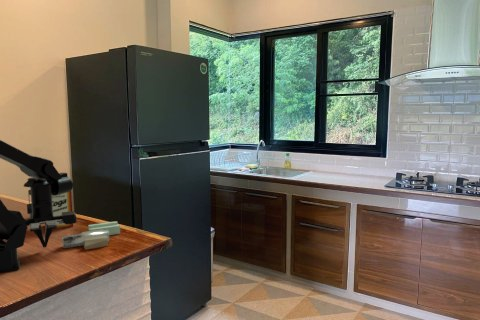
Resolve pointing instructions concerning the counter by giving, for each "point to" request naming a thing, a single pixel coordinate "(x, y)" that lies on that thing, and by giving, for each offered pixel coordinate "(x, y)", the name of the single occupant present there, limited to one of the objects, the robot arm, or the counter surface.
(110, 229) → the v block
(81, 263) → the counter surface
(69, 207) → the baking soda box
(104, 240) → the beam rails
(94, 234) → the axle
